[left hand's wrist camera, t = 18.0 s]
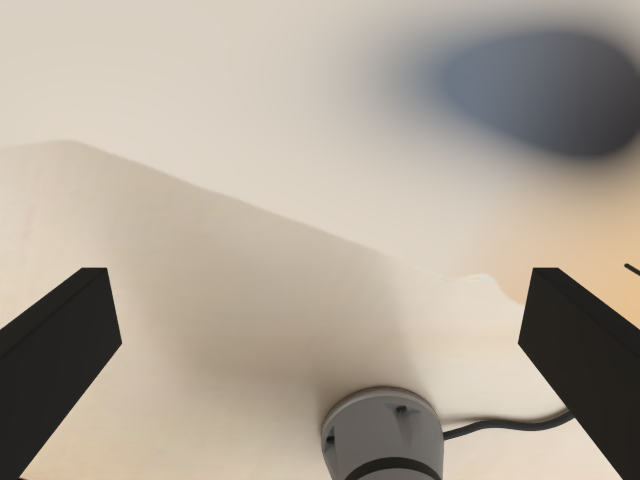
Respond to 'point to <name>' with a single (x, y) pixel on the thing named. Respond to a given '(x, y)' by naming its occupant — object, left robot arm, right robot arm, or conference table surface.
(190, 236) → the conference table surface
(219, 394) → the conference table surface
